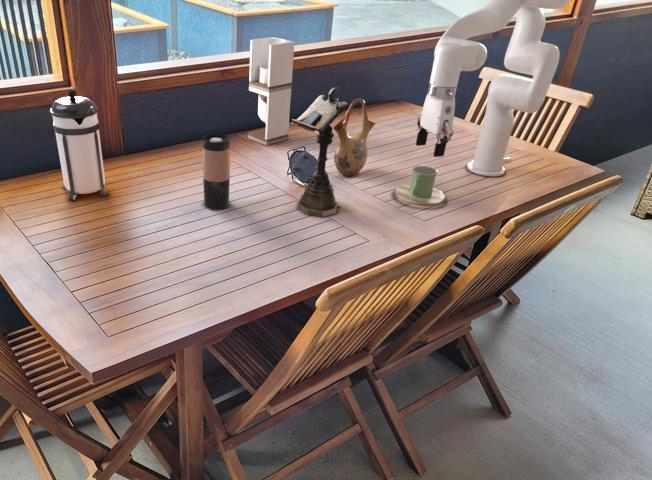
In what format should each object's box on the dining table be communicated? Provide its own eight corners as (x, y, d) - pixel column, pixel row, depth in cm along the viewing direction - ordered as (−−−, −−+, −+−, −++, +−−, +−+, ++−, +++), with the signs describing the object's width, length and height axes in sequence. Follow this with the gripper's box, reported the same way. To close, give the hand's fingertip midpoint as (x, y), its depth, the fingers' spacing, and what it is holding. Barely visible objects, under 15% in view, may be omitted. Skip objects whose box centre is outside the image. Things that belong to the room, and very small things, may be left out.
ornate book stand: (305, 225, 159) (317, 97, 139) (277, 208, 168) (284, 85, 148) (348, 212, 167) (365, 89, 147) (320, 196, 176) (332, 78, 156)
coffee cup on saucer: (406, 182, 186) (411, 157, 181) (451, 194, 179) (457, 169, 174) (387, 196, 175) (392, 171, 171) (434, 210, 168) (440, 183, 164)
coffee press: (123, 186, 177) (112, 86, 160) (90, 205, 165) (75, 99, 148) (78, 176, 182) (63, 78, 166) (43, 193, 170) (23, 90, 154)
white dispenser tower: (268, 132, 226) (273, 36, 207) (287, 139, 220) (294, 41, 200) (247, 137, 220) (250, 39, 200) (266, 145, 213) (271, 44, 194)
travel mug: (233, 201, 170) (234, 136, 159) (223, 211, 164) (224, 144, 153) (209, 197, 172) (208, 132, 161) (199, 207, 166) (197, 140, 155)
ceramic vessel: (337, 182, 186) (347, 104, 172) (321, 173, 192) (329, 97, 178) (375, 174, 193) (388, 99, 179) (358, 165, 199) (369, 92, 185)
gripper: (471, 98, 154) (456, 159, 163) (436, 83, 167) (424, 140, 177) (447, 100, 152) (434, 161, 161) (414, 84, 165) (403, 141, 175)
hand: (429, 150), depth 169 cm, fingers open, 9 cm apart
